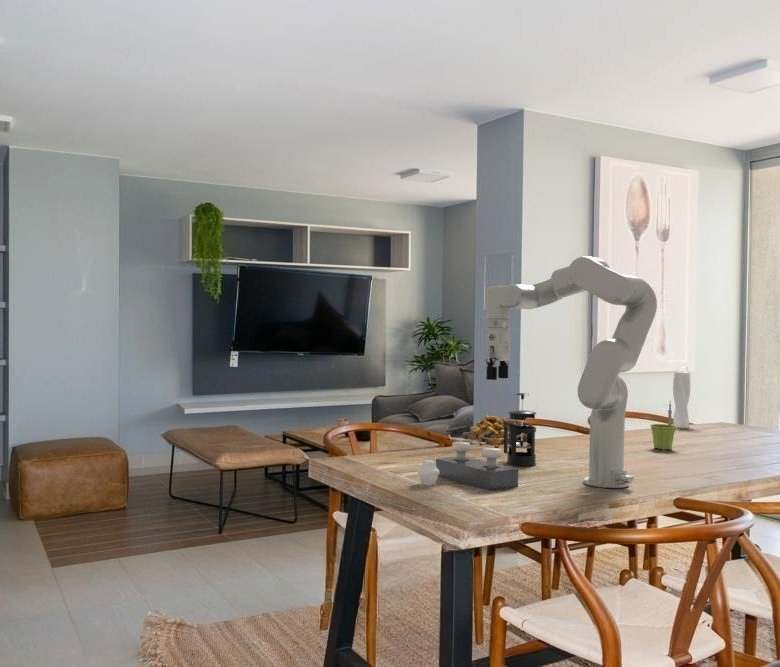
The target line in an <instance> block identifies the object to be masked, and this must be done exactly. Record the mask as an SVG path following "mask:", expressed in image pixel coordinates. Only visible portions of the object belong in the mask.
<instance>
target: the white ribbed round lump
mask: <svg viewBox="0 0 780 667" xmlns="http://www.w3.org/2000/svg"><path fill="white" fill-rule="evenodd" d="M439 473H440V471H439V470H438V468H437V467H436V461H434V460H432V459H426V460H424V461H423V462H422V464H421V466H420V467H419V468H418V469H417V474H418V478H419V481H420V482H421V484H422V485H423V486H434V485H435V484H436V482H437V480H438V478H439V476H438V475H439Z"/></svg>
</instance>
